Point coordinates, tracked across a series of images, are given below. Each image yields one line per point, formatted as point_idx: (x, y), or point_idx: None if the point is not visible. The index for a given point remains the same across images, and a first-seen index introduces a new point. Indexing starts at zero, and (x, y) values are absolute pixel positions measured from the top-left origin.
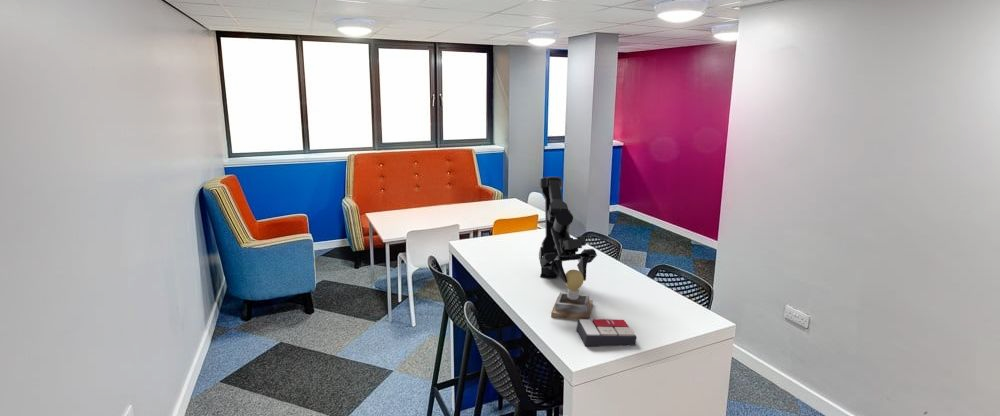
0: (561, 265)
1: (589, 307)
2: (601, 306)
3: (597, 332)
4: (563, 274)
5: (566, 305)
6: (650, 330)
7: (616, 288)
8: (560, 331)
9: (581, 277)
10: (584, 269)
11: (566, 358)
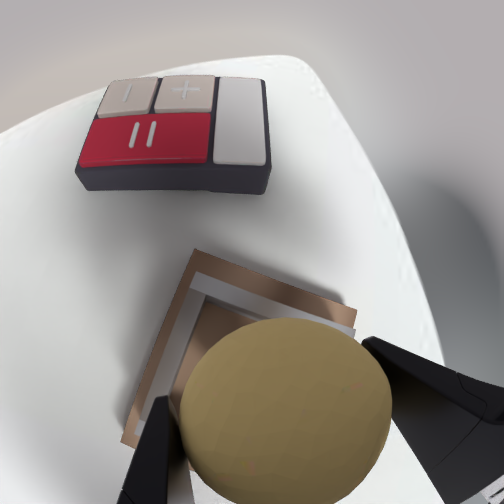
0: (500, 416)
1: (156, 361)
2: (89, 408)
3: (224, 84)
4: (428, 365)
5: (301, 312)
6: (23, 175)
7: None
8: (323, 190)
9: (221, 354)
10: (148, 490)
11: (314, 80)
